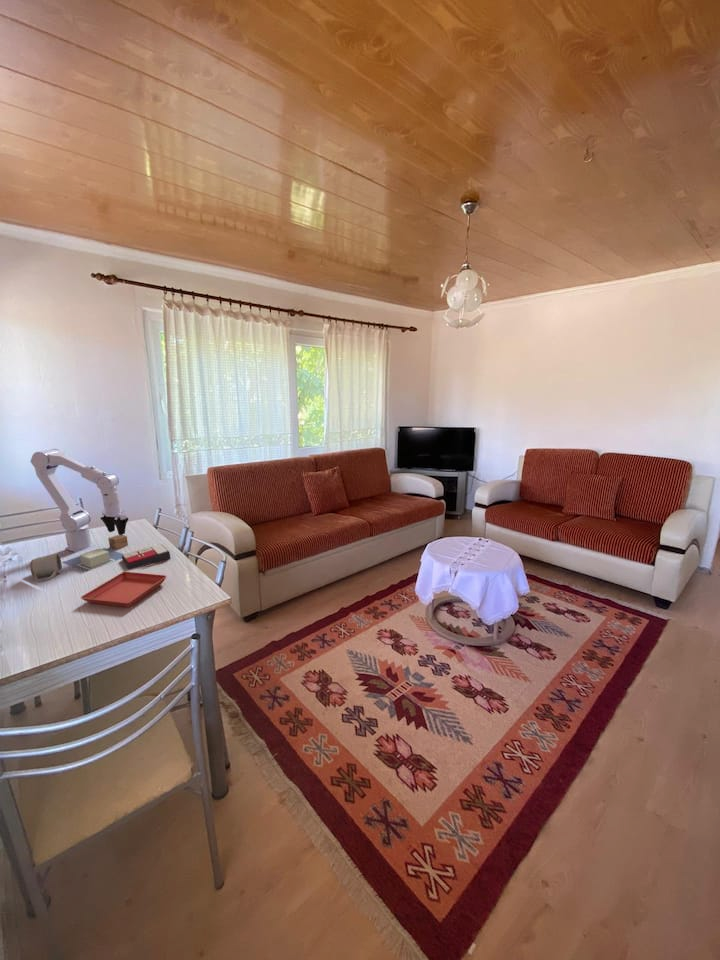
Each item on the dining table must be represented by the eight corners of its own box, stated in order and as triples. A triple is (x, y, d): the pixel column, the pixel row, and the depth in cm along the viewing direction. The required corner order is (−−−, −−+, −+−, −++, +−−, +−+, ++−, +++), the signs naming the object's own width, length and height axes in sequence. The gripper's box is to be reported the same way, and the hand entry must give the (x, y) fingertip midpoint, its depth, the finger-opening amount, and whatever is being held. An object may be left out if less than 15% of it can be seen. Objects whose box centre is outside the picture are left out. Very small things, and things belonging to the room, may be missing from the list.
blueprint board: (62, 563, 153) (62, 562, 153) (104, 549, 167) (104, 547, 166) (86, 573, 144) (86, 571, 144) (129, 556, 158) (128, 555, 158)
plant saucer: (129, 612, 119) (128, 602, 118) (80, 606, 122) (78, 597, 122) (169, 583, 136) (167, 575, 135) (125, 579, 140) (123, 571, 139)
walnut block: (110, 548, 167) (108, 537, 166) (121, 544, 171) (119, 534, 170) (116, 550, 165) (114, 539, 164) (128, 546, 169) (126, 536, 168)
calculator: (120, 554, 153) (161, 542, 163) (123, 563, 154) (163, 551, 164) (127, 562, 145) (169, 549, 155) (129, 573, 146) (171, 559, 156)
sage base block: (81, 564, 150) (79, 554, 150) (100, 557, 156) (98, 548, 156) (91, 568, 147) (89, 558, 146) (110, 561, 153) (108, 551, 152)
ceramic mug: (36, 573, 145) (31, 555, 143) (63, 568, 149) (59, 550, 147) (30, 586, 136) (25, 566, 134) (59, 580, 140) (55, 560, 138)
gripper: (131, 502, 163) (135, 532, 167) (111, 498, 170) (116, 527, 173) (114, 506, 157) (119, 537, 161) (94, 502, 164) (100, 532, 167)
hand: (116, 532), depth 167 cm, fingers open, 7 cm apart
